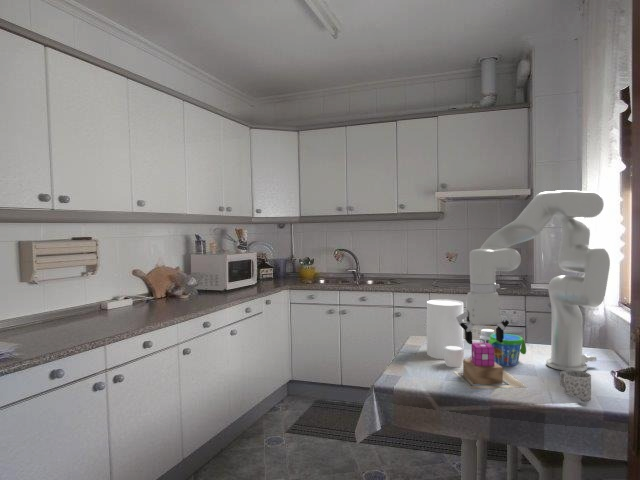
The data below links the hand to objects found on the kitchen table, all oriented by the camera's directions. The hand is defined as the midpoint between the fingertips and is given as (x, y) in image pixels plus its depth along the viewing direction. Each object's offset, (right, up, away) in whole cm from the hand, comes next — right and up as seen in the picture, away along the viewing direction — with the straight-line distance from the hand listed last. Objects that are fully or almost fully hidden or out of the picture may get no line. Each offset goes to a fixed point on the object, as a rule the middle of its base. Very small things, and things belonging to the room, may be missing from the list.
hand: (484, 342), depth 144 cm
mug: (+22, -13, -11) cm, 28 cm away
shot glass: (-5, -12, +15) cm, 20 cm away
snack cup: (+14, -12, +17) cm, 25 cm away
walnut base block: (-1, -12, 0) cm, 12 cm away
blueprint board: (+1, -13, 0) cm, 13 cm away
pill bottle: (+11, -12, +28) cm, 32 cm away
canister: (-4, -12, +31) cm, 33 cm away
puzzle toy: (-1, -7, 0) cm, 7 cm away
